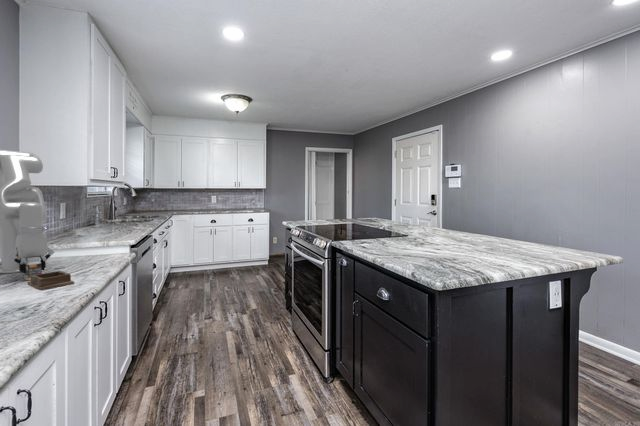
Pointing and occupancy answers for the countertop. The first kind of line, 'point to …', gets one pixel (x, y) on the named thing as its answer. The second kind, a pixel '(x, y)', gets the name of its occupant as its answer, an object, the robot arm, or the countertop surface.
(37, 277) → the socket board
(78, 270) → the countertop surface
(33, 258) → the pill bottle
